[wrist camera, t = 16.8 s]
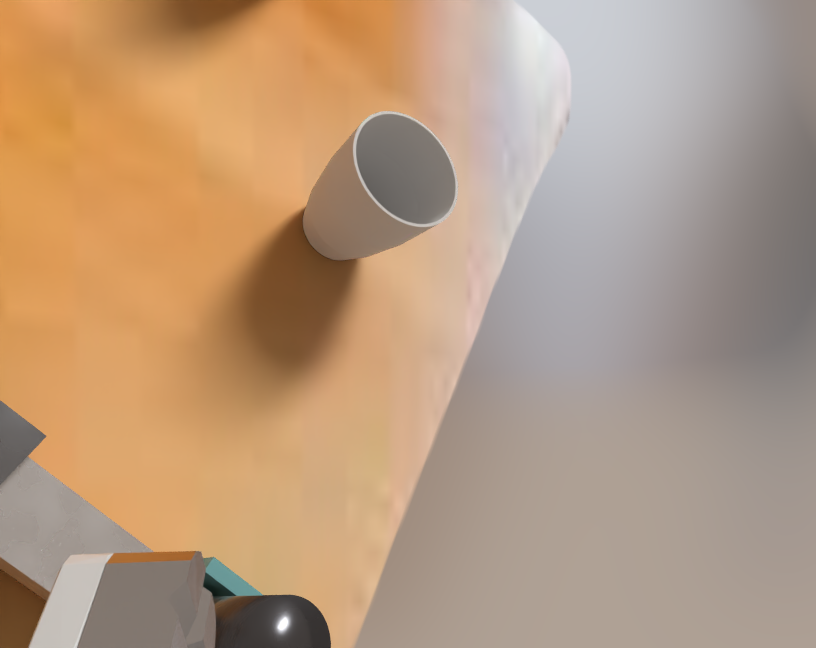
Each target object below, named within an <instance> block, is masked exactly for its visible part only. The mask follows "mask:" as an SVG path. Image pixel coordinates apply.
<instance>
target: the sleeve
mask: <svg viewBox="0 0 816 648" xmlns="http://www.w3.org/2000/svg"><path fill="white" fill-rule="evenodd" d="M45 437H46V435H44V434H43V433H42V432H40V431H39V430H38V429H37V428H35V427H34V426H33V425H31V424H30V423H29V422H27V421H26V420H25V419H24V418H22V417H21V416H20V415H18V414H17V413H16V412H15V411H13V410H12V409H11V408H9V407H8V406H7V405H5V404H4V403H3V402H2V401H0V485H1V484H2V483H3V482H4V481H5V479H6V478H7V477H8V476H9V475H10V474H11V473H12V472H13V471H14V470H15V469H16V468H17V467H18V466H19V465H20V464H21V463H22V462H23V460H24V459H25V458H26V457H27V456H28V455H29V454H30V453H31V452H32V451H33V450H34V449H35V448H36V447H37V446H38V445H39V444H40V443H41V441H42V440H43V439H44V438H45Z"/></svg>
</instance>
